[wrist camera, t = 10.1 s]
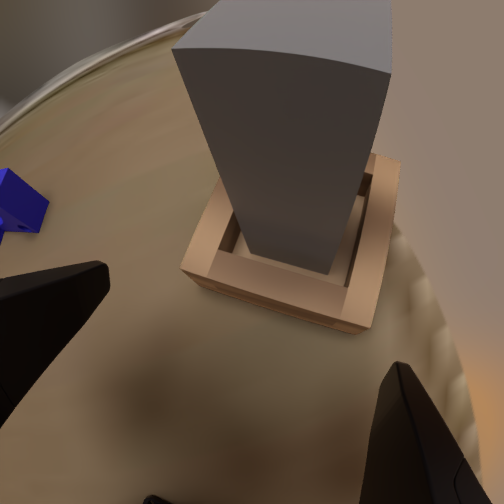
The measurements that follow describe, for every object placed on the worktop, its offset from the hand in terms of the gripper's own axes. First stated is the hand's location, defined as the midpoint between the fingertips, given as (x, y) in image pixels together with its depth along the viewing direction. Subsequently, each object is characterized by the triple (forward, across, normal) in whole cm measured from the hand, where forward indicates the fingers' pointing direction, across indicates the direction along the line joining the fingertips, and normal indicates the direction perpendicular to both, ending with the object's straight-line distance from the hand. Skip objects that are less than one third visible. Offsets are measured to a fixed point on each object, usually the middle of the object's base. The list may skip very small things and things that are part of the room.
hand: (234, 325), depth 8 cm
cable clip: (+7, +27, +6) cm, 28 cm away
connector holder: (+11, 0, +2) cm, 11 cm away
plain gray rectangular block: (+10, 0, +1) cm, 10 cm away
